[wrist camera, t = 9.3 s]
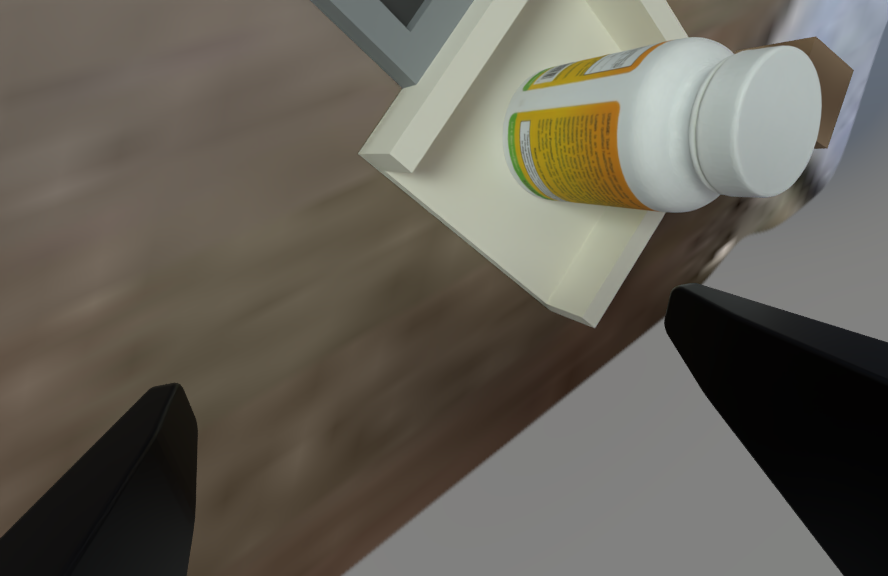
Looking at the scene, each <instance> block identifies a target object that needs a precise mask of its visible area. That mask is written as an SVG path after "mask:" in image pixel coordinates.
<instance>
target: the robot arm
mask: <svg viewBox="0 0 888 576" xmlns="http://www.w3.org/2000/svg"><path fill="white" fill-rule="evenodd" d="M664 324H665V329H666V332H667V334H668V336H669V337H670V339H671V341H672V342H673V344H674V346H675V347H676V348H677V350H678V352H679V354H680V355H681V357H682V359H683V360H684V362H685V363H686V365H687V366H688V368H689V370H690V371H691V373H692V375H693V376H694V378H695V380H696V381H697V383H698V384H699V386H700V388H701V389H702V391H703V392H704V393H705V395H706V396H707V398H708V399H709V401H710V402H711V403H712V405H713V406H714V407H715V409H716V410H717V411H718V412H719V414H720V415H721V416H722V418H723V419H724V420H725V422H726V423H727V424H728V426H729V427H730V428H731V430H732V431H733V432H734V433H735V434H736V436H737V437H738V439H739V440H740V441H741V442H742V444H743V445H744V446H745V448H746V449H747V450H748V452H749V453H750V454H751V456H752V457H753V458H754V460H755V461H756V462H757V463H758V465H759V466H760V467H761V469H762V470H763V471H764V473H765V474H766V475H767V476H768V478H769V479H770V480H771V482H772V483H773V484H774V485H775V487H776V488H777V489H778V491H779V492H780V493H781V494H782V496H783V497H784V498H785V500H786V501H787V503H788V504H789V505H790V506H791V508H792V509H793V510H794V512H795V513H796V514H797V516H798V517H799V518H800V519H801V521H802V522H803V523H804V525H805V526H806V527H807V528H808V530H809V531H810V533H811V534H812V535H813V536H814V538H815V539H816V540H817V542H818V543H819V544H820V546H821V547H822V548H823V550H824V551H825V552H826V553H827V555H828V556H829V557H830V559H831V560H832V561H833V563H834V564H835V565H836V566H837V568H838V569H839V570H840V572H841V573H842V574H843V576H888V342H885V341H882V340H878V339H875V338H872V337H869V336H865V335H862V334H859V333H856V332H852V331H849V330H845V329H843V328H840V327H836V326H833V325H829V324H827V323H823V322H820V321H817V320H814V319H810V318H807V317H804V316H801V315H798V314H794V313H791V312H788V311H785V310H781V309H778V308H775V307H771V306H768V305H765V304H762V303H759V302H755V301H752V300H749V299H746V298H742V297H739V296H736V295H733V294H730V293H726V292H723V291H720V290H717V289H713V288H710V287H707V286H704V285H701V284H697V283H689V284H684V285H679V286H676V287H674V288H673V290H672V291H671V293H670V298H669V302H668V307H667V311H666V316H665V321H664ZM197 442H198V428H197V422H196V418H195V416H194V413H193V411H192V408H191V406H190V403H189V401H188V399H187V396H186V394H185V391H184V389H183V387H182V386H181V385H180V384H178V383H170V384H165V385H160V386H155V387H152V388H150V389H149V390H148V391H147V392H146V393H145V394H144V395H143V396H142V397H141V398H140V399H139V400H138V401H137V402H136V403H135V404H134V405H133V406H132V407H131V408H130V409H129V410H128V411H127V412H126V413H125V414H124V415H123V416H122V417H121V418H120V419H119V420H118V421H117V422H116V423H115V424H114V425H113V426H112V427H111V428H110V429H109V430H108V431H107V432H106V433H105V434H104V435H103V436H102V437H101V438H100V439H99V440H98V441H97V442H96V443H95V444H94V445H93V446H92V447H91V448H90V449H89V450H88V451H87V452H86V453H85V454H84V455H83V456H82V457H81V458H80V459H79V460H78V461H77V462H76V463H75V464H74V465H73V466H72V467H71V468H70V469H69V470H68V471H67V472H66V473H65V474H64V475H63V476H62V477H61V478H60V479H59V480H58V481H57V482H56V483H55V484H54V485H53V486H52V487H51V488H50V489H49V490H48V491H47V492H46V493H45V494H44V495H43V496H42V497H41V498H40V499H39V500H38V501H37V502H36V503H35V504H34V505H33V506H32V507H31V508H30V509H29V510H28V511H27V512H26V513H25V514H24V515H23V516H22V517H21V518H20V519H19V520H18V521H17V522H16V523H15V524H14V525H13V526H12V527H11V528H10V529H9V530H8V531H7V532H6V533H5V534H4V535H3V536H2V537H1V538H0V576H187V569H188V563H189V556H190V550H191V543H192V537H193V530H194V522H195V508H196V477H197Z"/></svg>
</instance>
